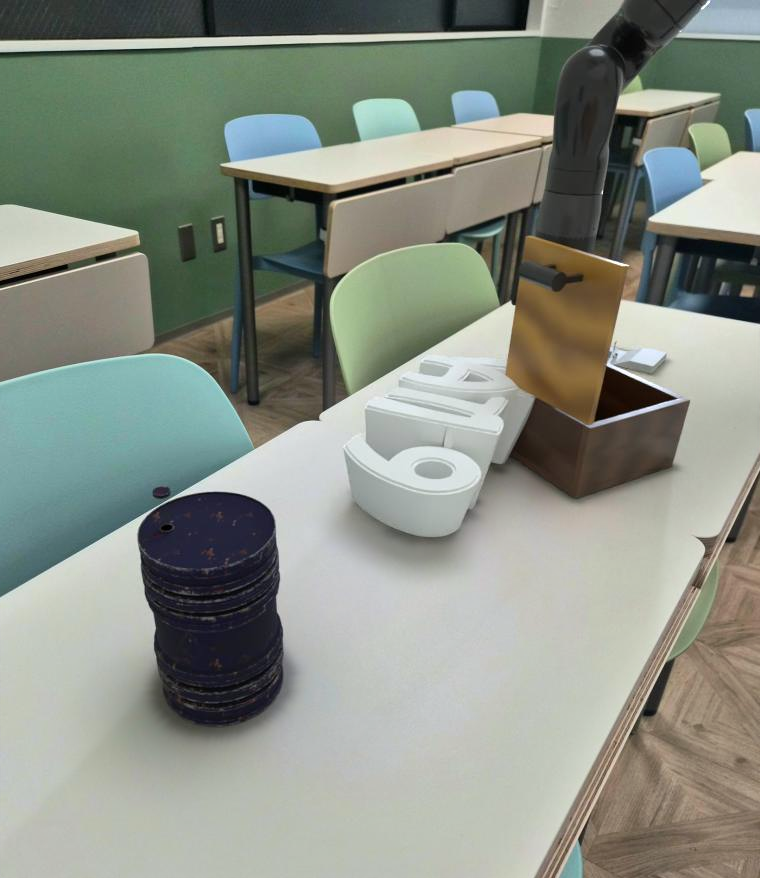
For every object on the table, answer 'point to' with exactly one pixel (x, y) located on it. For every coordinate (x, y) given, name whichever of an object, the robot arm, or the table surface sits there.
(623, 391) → the brown wooden box
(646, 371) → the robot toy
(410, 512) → the white letter sign
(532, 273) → the lid
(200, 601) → the navy speckled cylinder
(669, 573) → the table surface
